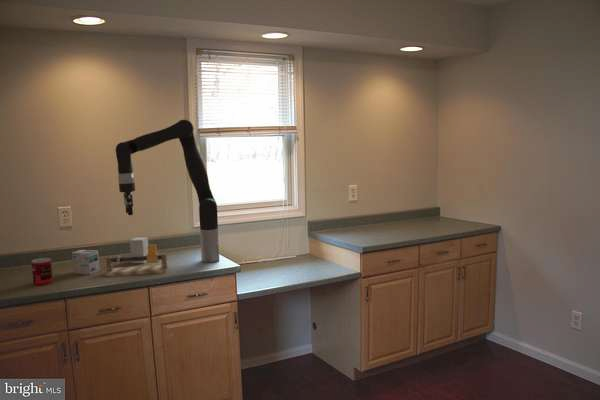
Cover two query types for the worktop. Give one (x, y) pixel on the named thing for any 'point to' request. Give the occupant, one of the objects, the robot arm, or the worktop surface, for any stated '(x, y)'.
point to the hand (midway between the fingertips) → (129, 214)
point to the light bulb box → (85, 262)
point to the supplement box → (139, 248)
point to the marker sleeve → (152, 254)
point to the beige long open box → (135, 270)
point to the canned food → (42, 271)
